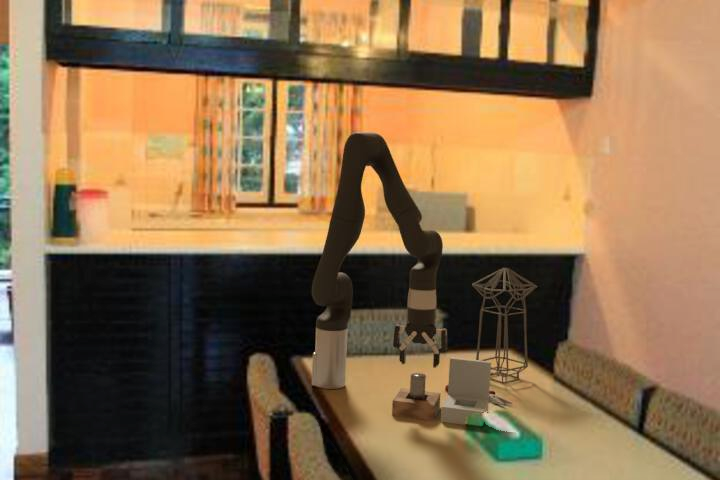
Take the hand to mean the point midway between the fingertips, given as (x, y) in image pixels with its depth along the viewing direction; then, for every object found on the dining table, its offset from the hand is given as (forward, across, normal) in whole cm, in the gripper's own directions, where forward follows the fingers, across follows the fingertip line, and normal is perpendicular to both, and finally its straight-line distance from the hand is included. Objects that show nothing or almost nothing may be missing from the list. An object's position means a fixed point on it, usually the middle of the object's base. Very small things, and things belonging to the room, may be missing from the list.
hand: (419, 365), depth 205 cm
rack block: (+13, +13, 0) cm, 18 cm away
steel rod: (+13, 0, 0) cm, 13 cm away
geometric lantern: (+13, +18, +41) cm, 47 cm away
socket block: (+13, 0, 0) cm, 13 cm away
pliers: (+14, +14, +19) cm, 27 cm away
